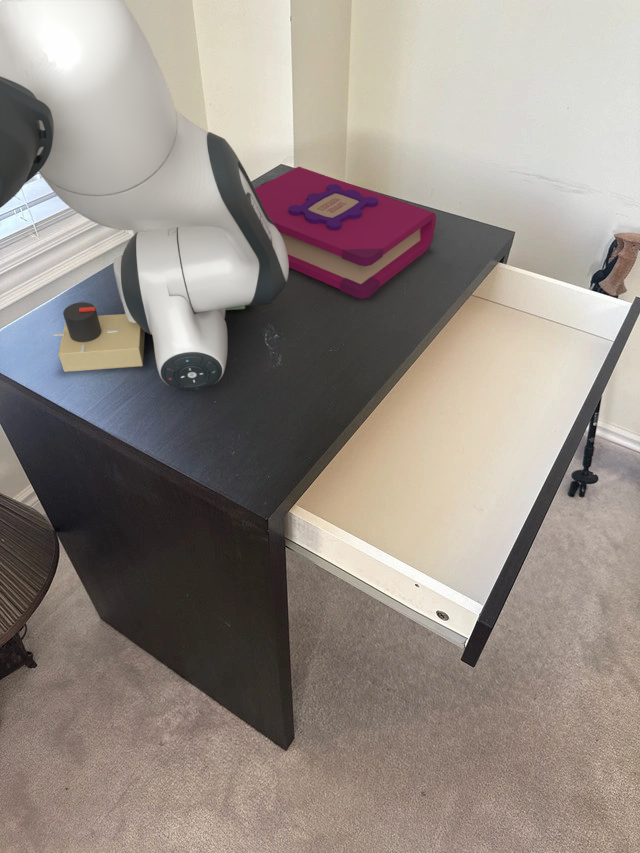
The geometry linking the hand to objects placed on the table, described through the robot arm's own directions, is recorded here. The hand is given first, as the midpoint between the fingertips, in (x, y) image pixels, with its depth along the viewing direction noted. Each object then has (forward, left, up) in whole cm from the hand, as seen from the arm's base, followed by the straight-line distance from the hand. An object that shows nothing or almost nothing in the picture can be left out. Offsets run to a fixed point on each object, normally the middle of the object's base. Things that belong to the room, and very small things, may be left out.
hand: (189, 245), depth 92 cm
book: (+23, +10, -7) cm, 26 cm away
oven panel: (-12, -15, -7) cm, 20 cm away
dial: (-14, -15, -4) cm, 21 cm away
